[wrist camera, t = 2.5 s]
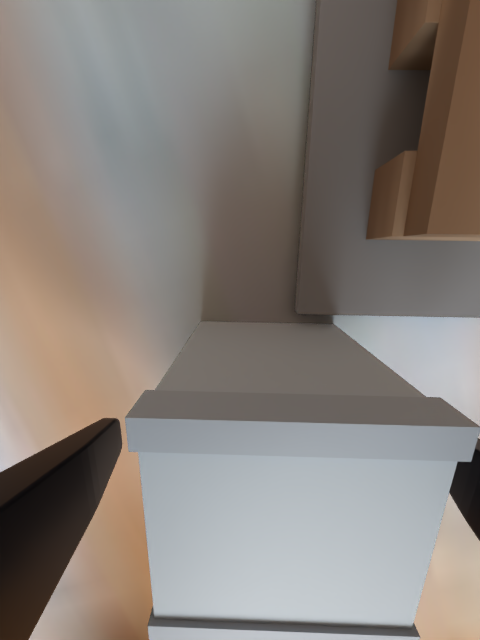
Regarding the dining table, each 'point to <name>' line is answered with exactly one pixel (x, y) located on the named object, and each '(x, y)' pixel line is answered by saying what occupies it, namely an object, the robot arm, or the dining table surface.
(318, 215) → the mat
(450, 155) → the pallet
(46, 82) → the dining table surface
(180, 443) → the white box
